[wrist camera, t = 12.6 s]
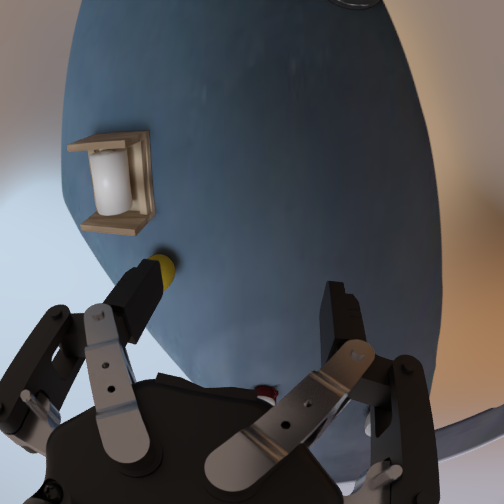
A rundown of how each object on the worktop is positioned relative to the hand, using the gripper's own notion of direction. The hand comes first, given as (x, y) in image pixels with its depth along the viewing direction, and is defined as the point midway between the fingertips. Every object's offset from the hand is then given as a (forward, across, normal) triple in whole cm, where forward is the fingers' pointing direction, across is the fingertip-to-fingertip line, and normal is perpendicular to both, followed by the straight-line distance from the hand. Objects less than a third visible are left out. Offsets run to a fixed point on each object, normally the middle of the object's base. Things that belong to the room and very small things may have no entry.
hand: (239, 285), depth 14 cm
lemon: (+28, +17, +19) cm, 38 cm away
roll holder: (+28, +23, +4) cm, 37 cm away
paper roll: (+24, +23, +4) cm, 34 cm away
